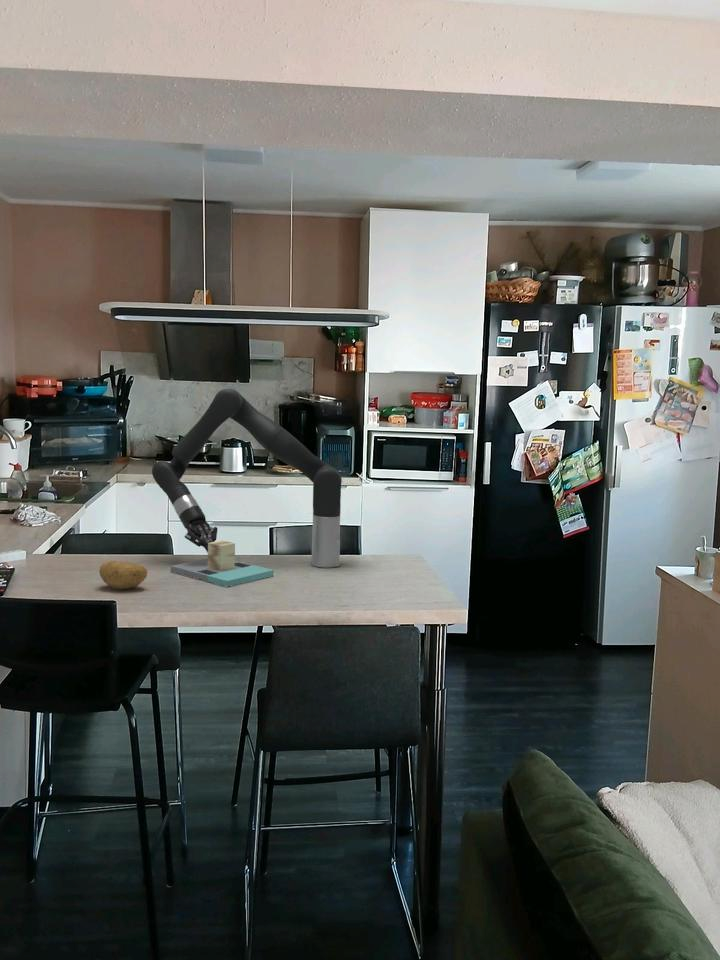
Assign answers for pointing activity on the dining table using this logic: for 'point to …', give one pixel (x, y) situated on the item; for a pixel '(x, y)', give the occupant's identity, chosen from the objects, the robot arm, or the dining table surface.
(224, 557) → the maple block
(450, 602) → the dining table surface
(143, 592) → the dining table surface
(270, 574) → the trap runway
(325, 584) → the dining table surface
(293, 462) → the robot arm
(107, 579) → the potato
